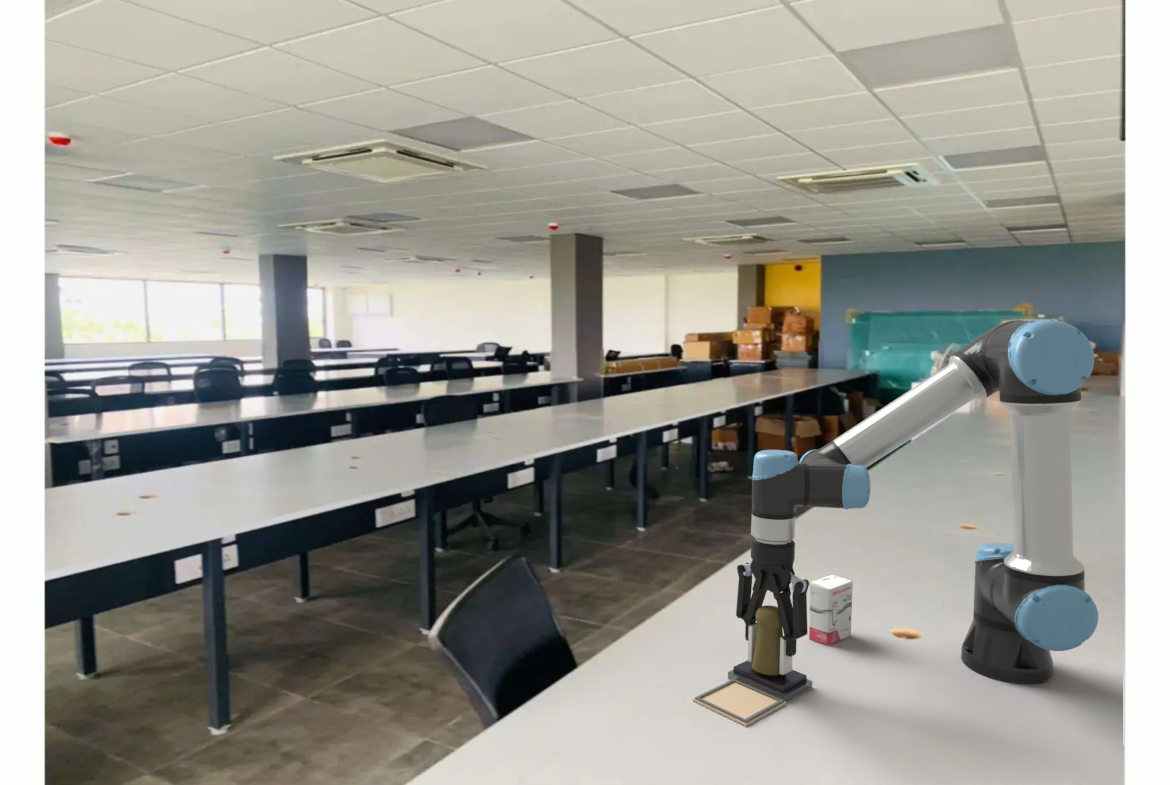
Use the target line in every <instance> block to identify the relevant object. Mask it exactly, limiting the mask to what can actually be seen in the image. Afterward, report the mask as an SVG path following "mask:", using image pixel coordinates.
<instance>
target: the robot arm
mask: <svg viewBox="0 0 1170 785" xmlns="http://www.w3.org/2000/svg"><path fill="white" fill-rule="evenodd" d="M1094 352H1095V351H1094V349H1093V346H1092V344H1091V341H1090V340H1089V338H1087V336H1086V334H1084V332H1082V331H1081V330H1080V329H1078V328H1077V327H1075V326H1074V325H1071V324H1070V323H1067V322H1065V321H1059V320H1055V319H1050V318H1049V319H1048V318H1046V319H1045V318H1040V319H1033V320H1032V319H1031V320H1030V319H1029V320H1028V319H1027V320H1025V319H1023V320H1022V319H1021V320H1018V319H1017V320H1009V321H1005V322H1002V323H1000V324H998V325H996V326H994V327H992V328H991V329H989V330H987V331H986V332H985V333H983V334H982V335H980V336H979V337H977V338H975V339H974V340H973V341H971V342H969V344H967V345H966V346H965V347H962V349H960V350H959V351H957V352H956V353H954V354H952V355H951V356H949V359H948V360H949V361H948V364H947V365H946V366H944V367H942V369H940V370H939V371H936V372H935V373H934V374H932V375H930V376H929V377H927V378H926V379H925V380H923V381H922V382H920V383H919V384H917V385H916V386H914V387H913V388H911V389H910V390H908V391H907V392H905V393H903V394H901V396H899V397H897V398H896V399H894V400H893V401H891V402H889V403H888V404H887V405H885V406H883V407H882V408H881V409H879V410H877V411H876V412H874V413H872V414H871V415H870V416H868V417H866V418H864V420H862V421H861V422H859V423H858V424H856V425H854V426H853V427H851V428H850V429H849V430H847V431H845V432H843V434H840V435H839V436H838V437H836V438H835V439H833V440H831V441H830V442H829V443H827V444H825V445H824V446H822V447H820V448H818V449H811V450H809V451H806V452H805V453H804V454H803V455H801V458H800V460H798V455H797V454H796V452H793V451H790V450H784V449H783V450H781V449H765V450H763V449H762V450H760V451H758V452H756V453H755V455H754V457H753V465H752V468H753V469H752V475H751V477H752V478H751V479H752V480H751V481H752V482H751V484H752V485H751V489H752V490H751V524H750V525H751V526H750V528H751V529H750V535H751V536H752V538H751V540H750V558H751V559H752V560H751V561H750V563H749V562H745V563H741V564H738V565H737V566H736V570H737V574H738V586H737V597H736V598H737V599H736V610H735V615H736V617H737V618H738V619H741V620H743V621H744V623H745V626H744V628H745V630H744V631H745V632H744V633H745V634H744V637H745V640H746V641H747V660H748V661H749V662H753V657H754V650H755V644H756V638H757V632H758V626H759V625H758V624H757V621H756V611H757V610H758V609H759V608H760V607H762V606H763V603H764V601H765V598H766V595H767V592H768V591H769V592H771V593H772V594H773V598H774V600H775V601H776V604H777V607H778V609H779V614H780V618H781V622H782V630H783V636H782V637H780V667H779V674H782V675H784V674H786V673H788V672H790V671H792V670H793V657H794V656H796V653H797V640H798V639H800V638H803V637H805V636H807V635H808V634H809V631H808V604H807V603H808V602H807V601H808V599H807V592H808V588H809V587H810V581H809V580H808V579H807V578H806V579H802V578H799V576H796V572H795V570H794V562H795V556H796V555H795V553H796V552H795V551H796V542H795V541H794V539H796V520H797V519H796V516H797V514H796V513H797V507H803V508H806V507H807V508H825V509H827V508H828V509H844V510H850V509H851V510H852V509H864V508H866V507H867V505H868V504H869V502H870V497H871V478H870V473H869V471H868V467H869V466H871V465H872V464H874V463H876V462H877V461H878V460H880V459H883V458H884V457H885V456H887V455H889V454H890V453H892V452H893V451H895V450H896V449H898V448H899V447H900V446H902V445H904V444H906V443H907V442H909V441H910V440H912V439H913V438H915V437H917V436H918V435H920V434H922V433H923V432H925V431H926V430H928V429H930V428H931V427H932V426H934V425H935V424H938V423H939V422H940V421H942V420H944V419H945V418H946V417H948V416H950V415H952V413H955V412H956V411H957V410H960V409H961V408H962V407H963V406H965V405H967V404H969V403H970V402H972V401H973V400H975V399H976V400H977V399H979V400H985V399H987V398H988V397H989V398H990V396H992V395H993V394H996V393H997V392H999V403H1000V405H1002V406H1003V407H1004V408H1005V409H1007V410H1008V411H1009V412H1008V413H1009V415H1010V417H1009V418H1010V449H1011V450H1010V452H1011V453H1010V454H1011V461H1010V462H1011V492H1012V493H1011V497H1012V498H1011V499H1012V532H1013V533H1012V535H1013V536H1012V538H1013V542H1012V543H1003V542H1001V543H1000V542H998V543H997V542H991V543H983V544H981V545H979V546H978V547H977V549H976V555H975V560H974V563H975V564H974V565H975V566H974V568H975V570H974V590H973V591H974V592H973V593H974V594H973V614H972V617H973V618H972V622H971V623H970V626H969V629H968V631H967V633H966V635H965V637H964V640H963V642H962V644H961V655H960V658H961V661H962V663H964V665H965V666H967V667H968V668H969V669H971V670H973V671H974V672H976V673H979V674H981V675H983V676H986V677H988V678H992V679H996V680H999V681H1005V682H1009V683H1010V682H1011V683H1014V684H1015V683H1017V684H1040V683H1045V682H1048V681H1049V680H1051V679H1052V678H1053V676H1054V661H1053V656H1052V655H1051V651H1052V652H1064V651H1069V650H1073V649H1076V648H1078V647H1080V646H1082V645H1083V643H1084V642H1086V641H1088V640H1089V639H1090V638H1091V637H1092V636H1093V635H1094V633H1095V631H1096V629H1097V627H1098V625H1099V624H1098V623H1099V612H1098V608H1097V605H1096V603H1095V601H1094V600H1093V598H1092V597H1091V595H1090V594H1089V593H1087V592H1086V591H1085V590H1086V587H1085V586H1086V584H1085V565H1084V564H1083V563H1082V562H1081V561H1079V559H1078V558H1077V557H1076V556H1075V555H1074V547H1073V546H1074V545H1073V544H1074V542H1073V541H1074V540H1073V538H1074V535H1073V534H1074V533H1073V532H1074V531H1073V487H1072V486H1073V483H1072V436H1071V434H1072V431H1071V430H1072V429H1071V428H1072V427H1071V425H1072V424H1071V413H1072V411H1073V410H1074V409H1075V408H1076V407H1077V406H1079V405H1080V404H1081V402H1082V386H1083V384H1084V383H1085V382H1086V381H1087V379H1088V380H1089V378H1090V376H1091V374H1092V371H1093V369H1094V364H1095V354H1094ZM753 576H754V579H755V580H754V583H753ZM790 584H791V585H792V586H791V588H790ZM791 590H792V592H791ZM791 594H792V597H791Z"/></svg>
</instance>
